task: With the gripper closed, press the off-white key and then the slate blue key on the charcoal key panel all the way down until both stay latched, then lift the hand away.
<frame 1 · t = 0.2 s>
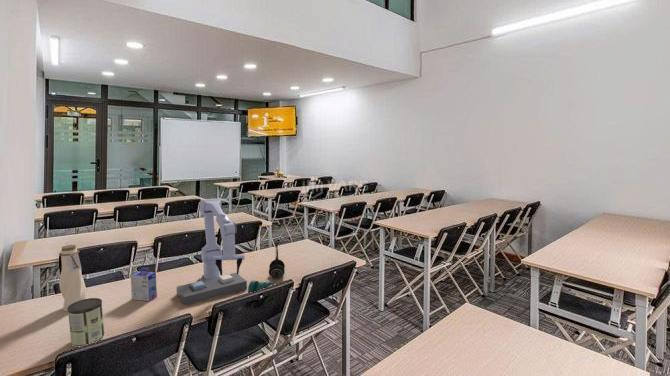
hand: (229, 274, 166), 10 cm above the table, tool pointing down, fingers open, 7 cm apart
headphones: (276, 276, 189), on the table
coffee can: (88, 340, 126), on the table
ink cartridge box: (144, 298, 161), on the table
slate blue key: (197, 286, 164), point 4 cm above the table, slide at 0.0 cm
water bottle: (75, 307, 151), on the table
key panel: (212, 291, 169), on the table
white key: (226, 279, 172), point 4 cm above the table, slide at 0.0 cm
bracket: (264, 292, 169), on the table
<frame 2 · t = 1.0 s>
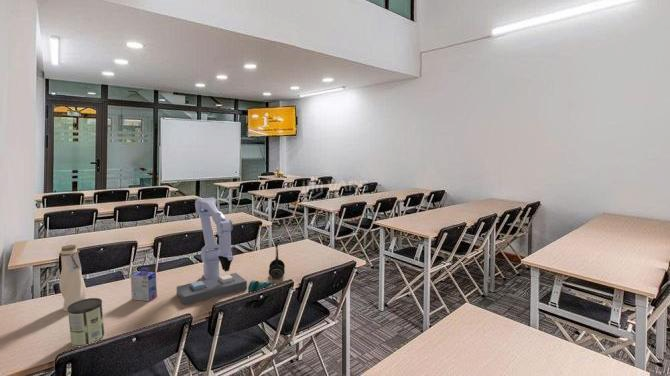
hand: (225, 270, 172), 9 cm above the table, tool pointing down, fingers closed
nothing on the table moved.
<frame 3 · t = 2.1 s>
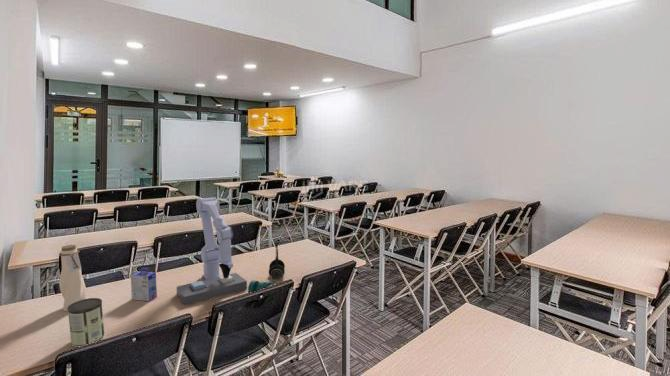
hand: (226, 277, 172), 6 cm above the table, tool pointing down, fingers closed, pressing on white key
white key: (226, 280, 173), point 4 cm above the table, slide at 0.2 cm, touching gripper
everything else where it was.
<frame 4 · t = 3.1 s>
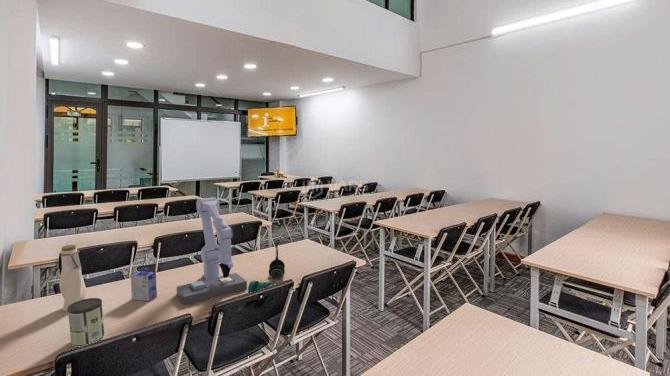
hand: (226, 277, 172), 6 cm above the table, tool pointing down, fingers closed
white key: (226, 282, 173), point 3 cm above the table, slide at 1.3 cm, touching key panel
everything else where it was.
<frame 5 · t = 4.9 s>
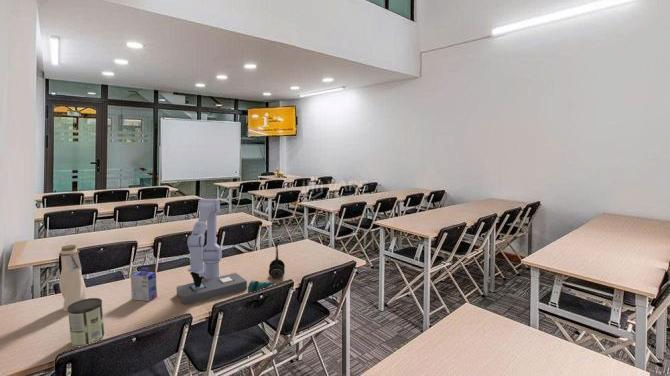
hand: (197, 286, 164), 4 cm above the table, tool pointing down, fingers closed, pressing on slate blue key
slate blue key: (197, 289, 164), point 3 cm above the table, slide at 1.3 cm, touching gripper
everything else where it was.
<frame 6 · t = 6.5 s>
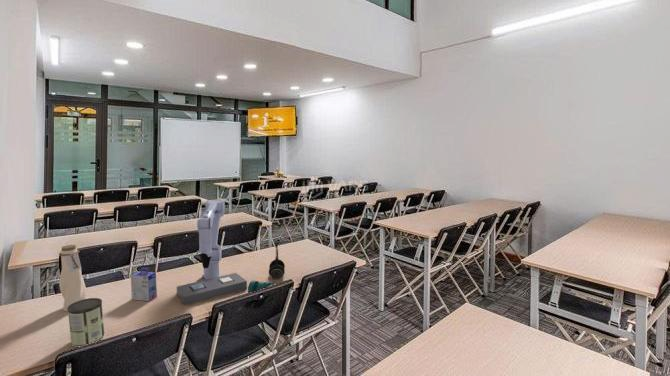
hand: (205, 267, 172), 10 cm above the table, tool pointing down, fingers closed
slate blue key: (197, 289, 164), point 3 cm above the table, slide at 1.3 cm, touching key panel
everything else where it was.
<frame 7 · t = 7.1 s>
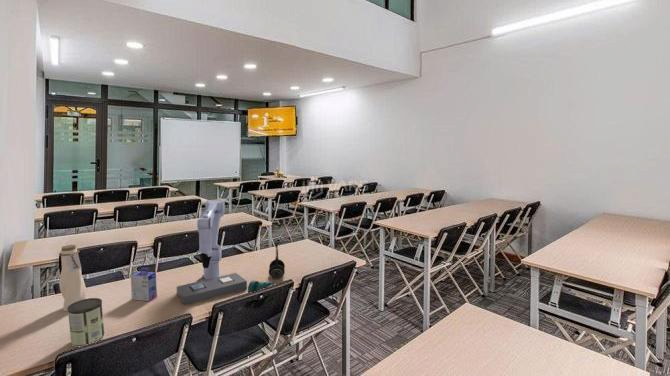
hand: (205, 267, 172), 10 cm above the table, tool pointing down, fingers closed
nothing on the table moved.
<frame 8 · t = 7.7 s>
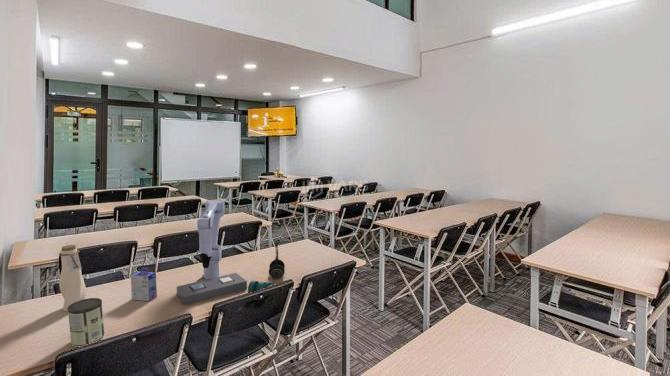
hand: (205, 267, 172), 10 cm above the table, tool pointing down, fingers closed
nothing on the table moved.
at the end: white key slide at 1.3 cm; slate blue key slide at 1.3 cm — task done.
